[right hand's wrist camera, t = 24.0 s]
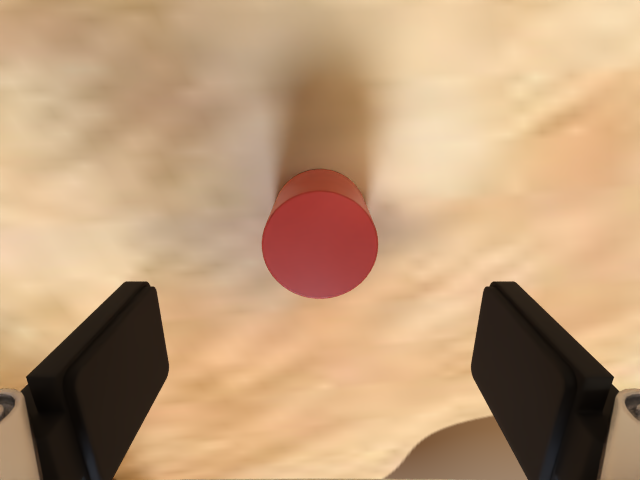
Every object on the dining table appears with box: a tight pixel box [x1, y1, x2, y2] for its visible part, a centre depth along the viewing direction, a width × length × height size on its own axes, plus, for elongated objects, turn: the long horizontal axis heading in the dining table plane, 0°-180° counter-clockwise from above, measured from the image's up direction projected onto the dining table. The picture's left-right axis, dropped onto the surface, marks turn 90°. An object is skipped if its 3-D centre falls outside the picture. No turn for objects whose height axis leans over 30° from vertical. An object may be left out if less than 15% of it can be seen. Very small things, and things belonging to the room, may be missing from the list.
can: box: [262, 169, 378, 299], centre depth 19 cm, size 5×5×5 cm
